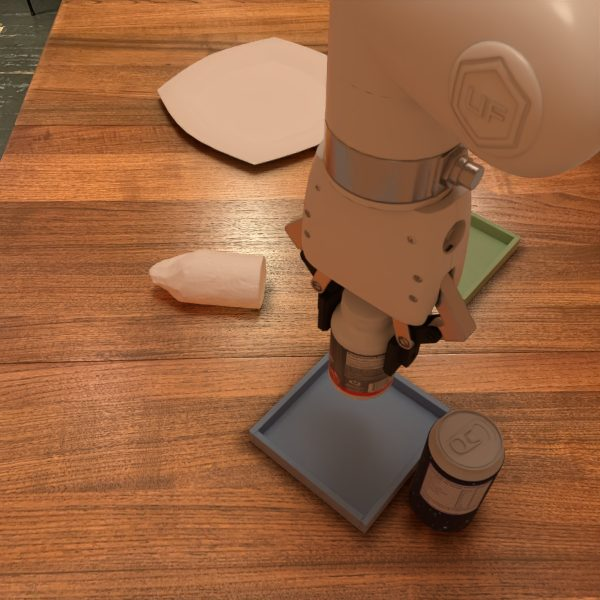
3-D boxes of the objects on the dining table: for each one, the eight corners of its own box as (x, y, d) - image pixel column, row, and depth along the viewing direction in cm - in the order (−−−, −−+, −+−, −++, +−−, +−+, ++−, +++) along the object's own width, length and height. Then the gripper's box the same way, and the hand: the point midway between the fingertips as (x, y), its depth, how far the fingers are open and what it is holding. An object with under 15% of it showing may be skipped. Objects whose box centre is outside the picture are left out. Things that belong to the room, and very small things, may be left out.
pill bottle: (327, 346, 55) (331, 267, 47) (391, 346, 55) (406, 268, 47) (328, 402, 52) (333, 327, 44) (396, 403, 51) (413, 328, 44)
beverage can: (487, 515, 56) (526, 451, 46) (434, 549, 54) (463, 489, 45) (446, 461, 59) (474, 391, 50) (394, 492, 57) (414, 425, 48)
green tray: (517, 248, 76) (521, 237, 74) (461, 311, 70) (464, 300, 68) (428, 201, 81) (431, 190, 79) (369, 256, 75) (371, 245, 73)
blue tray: (453, 422, 61) (456, 412, 60) (364, 534, 55) (366, 526, 53) (342, 347, 67) (343, 336, 65) (249, 440, 60) (248, 430, 59)
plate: (134, 100, 94) (131, 88, 93) (277, 36, 106) (277, 24, 104) (251, 194, 81) (251, 182, 80) (400, 110, 93) (401, 98, 91)
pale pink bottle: (161, 269, 73) (153, 233, 69) (267, 277, 73) (265, 242, 68) (148, 311, 70) (138, 276, 65) (259, 320, 69) (257, 285, 65)
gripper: (570, 178, 34) (489, 371, 48) (315, 60, 41) (310, 258, 55) (497, 259, 30) (433, 441, 44) (231, 114, 37) (248, 311, 51)
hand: (365, 338), depth 49 cm, fingers closed on pill bottle, 5 cm apart
